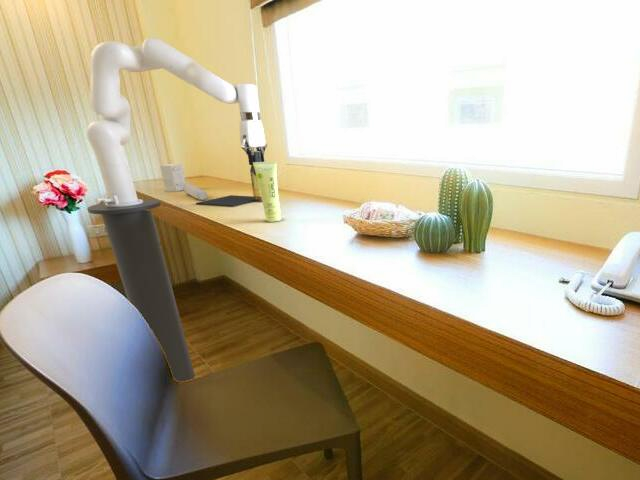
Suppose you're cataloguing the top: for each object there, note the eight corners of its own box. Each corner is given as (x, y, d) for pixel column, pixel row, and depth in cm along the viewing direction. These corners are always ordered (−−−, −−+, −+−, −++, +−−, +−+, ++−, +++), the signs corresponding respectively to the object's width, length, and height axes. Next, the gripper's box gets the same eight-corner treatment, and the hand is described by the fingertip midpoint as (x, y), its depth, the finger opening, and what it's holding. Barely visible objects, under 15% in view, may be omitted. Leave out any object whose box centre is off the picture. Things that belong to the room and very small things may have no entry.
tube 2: (268, 223, 131) (259, 162, 124) (261, 221, 134) (252, 161, 127) (284, 220, 135) (276, 161, 127) (277, 218, 138) (269, 160, 131)
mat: (232, 206, 160) (232, 205, 159) (195, 204, 166) (195, 202, 166) (265, 198, 177) (265, 197, 177) (231, 196, 184) (230, 195, 183)
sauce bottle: (256, 198, 173) (250, 150, 166) (270, 198, 173) (265, 150, 166) (251, 200, 166) (245, 151, 160) (266, 200, 167) (261, 151, 160)
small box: (177, 189, 210) (171, 163, 205) (187, 189, 208) (182, 163, 204) (165, 191, 202) (159, 165, 197) (176, 191, 201) (170, 165, 196)
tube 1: (209, 190, 175) (195, 184, 193) (196, 188, 171) (183, 182, 189) (207, 202, 176) (194, 195, 194) (194, 200, 172) (182, 193, 190)
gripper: (257, 118, 167) (263, 162, 173) (227, 117, 152) (235, 166, 159) (272, 117, 164) (277, 163, 171) (243, 117, 149) (250, 166, 156)
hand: (257, 164), depth 165 cm, fingers closed on sauce bottle, 4 cm apart
